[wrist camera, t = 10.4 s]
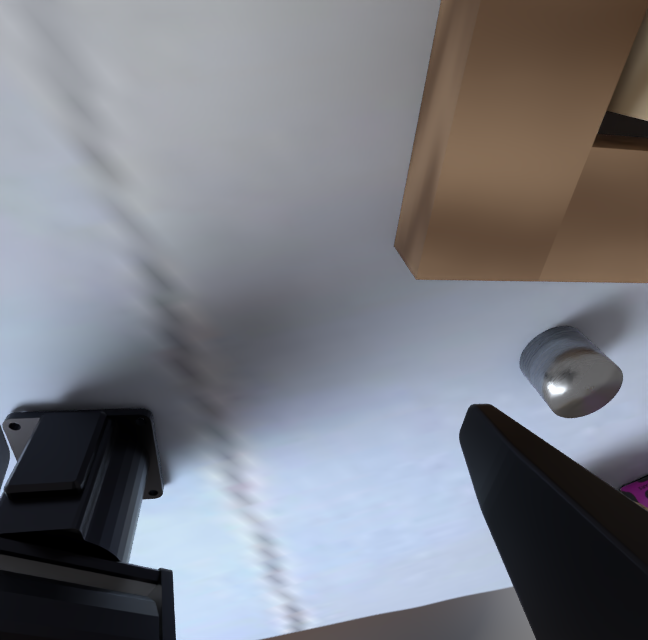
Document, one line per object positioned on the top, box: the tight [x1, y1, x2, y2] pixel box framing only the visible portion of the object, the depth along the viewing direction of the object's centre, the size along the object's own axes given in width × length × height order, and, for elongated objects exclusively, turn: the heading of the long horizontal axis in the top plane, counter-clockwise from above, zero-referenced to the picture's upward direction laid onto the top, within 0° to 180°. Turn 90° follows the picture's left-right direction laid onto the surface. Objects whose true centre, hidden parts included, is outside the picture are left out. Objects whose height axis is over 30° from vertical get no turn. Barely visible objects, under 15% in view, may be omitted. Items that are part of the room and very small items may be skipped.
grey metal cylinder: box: [520, 326, 623, 418], centre depth 23 cm, size 4×4×3 cm
